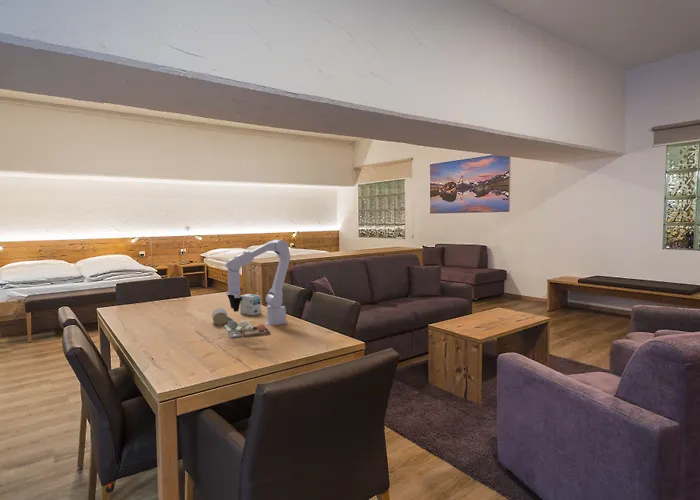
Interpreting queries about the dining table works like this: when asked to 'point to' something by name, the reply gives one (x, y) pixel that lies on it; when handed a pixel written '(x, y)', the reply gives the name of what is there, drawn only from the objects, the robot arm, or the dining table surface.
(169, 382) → the dining table surface
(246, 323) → the cream ball
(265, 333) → the walnut tray
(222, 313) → the ceramic mug
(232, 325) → the grey ball
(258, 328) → the terracotta ball
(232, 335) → the tile
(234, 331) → the sage tray
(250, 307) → the light bulb box
